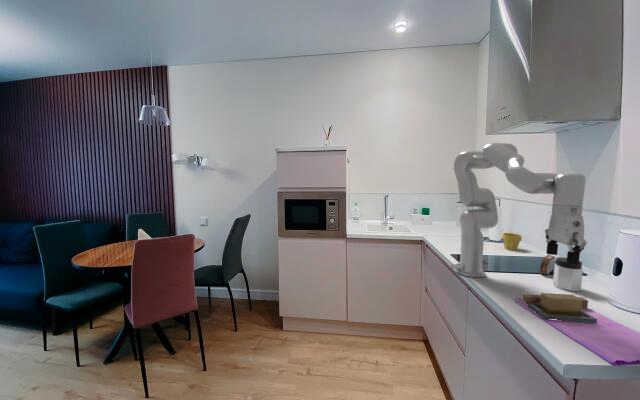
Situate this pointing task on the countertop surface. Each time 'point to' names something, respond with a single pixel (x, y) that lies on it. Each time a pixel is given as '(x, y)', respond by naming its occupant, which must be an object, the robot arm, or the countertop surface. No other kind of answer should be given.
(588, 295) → the countertop surface
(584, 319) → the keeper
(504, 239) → the plant pot
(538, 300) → the door edge strip
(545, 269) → the tin
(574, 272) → the jar
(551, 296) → the bar
